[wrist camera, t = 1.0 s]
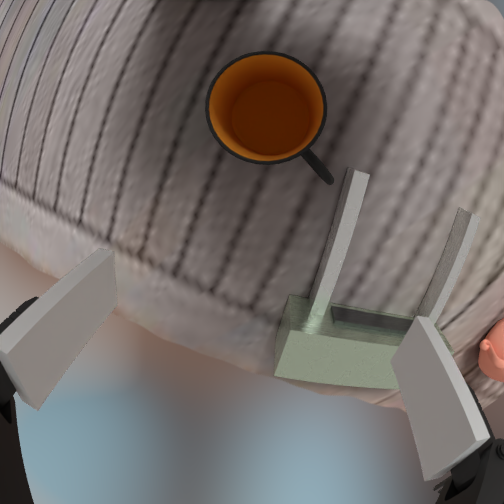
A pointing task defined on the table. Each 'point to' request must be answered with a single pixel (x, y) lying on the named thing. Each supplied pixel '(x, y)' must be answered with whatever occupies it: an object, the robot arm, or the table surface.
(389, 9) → the table surface
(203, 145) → the table surface
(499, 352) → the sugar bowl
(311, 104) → the mug
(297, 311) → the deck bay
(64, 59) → the table surface
